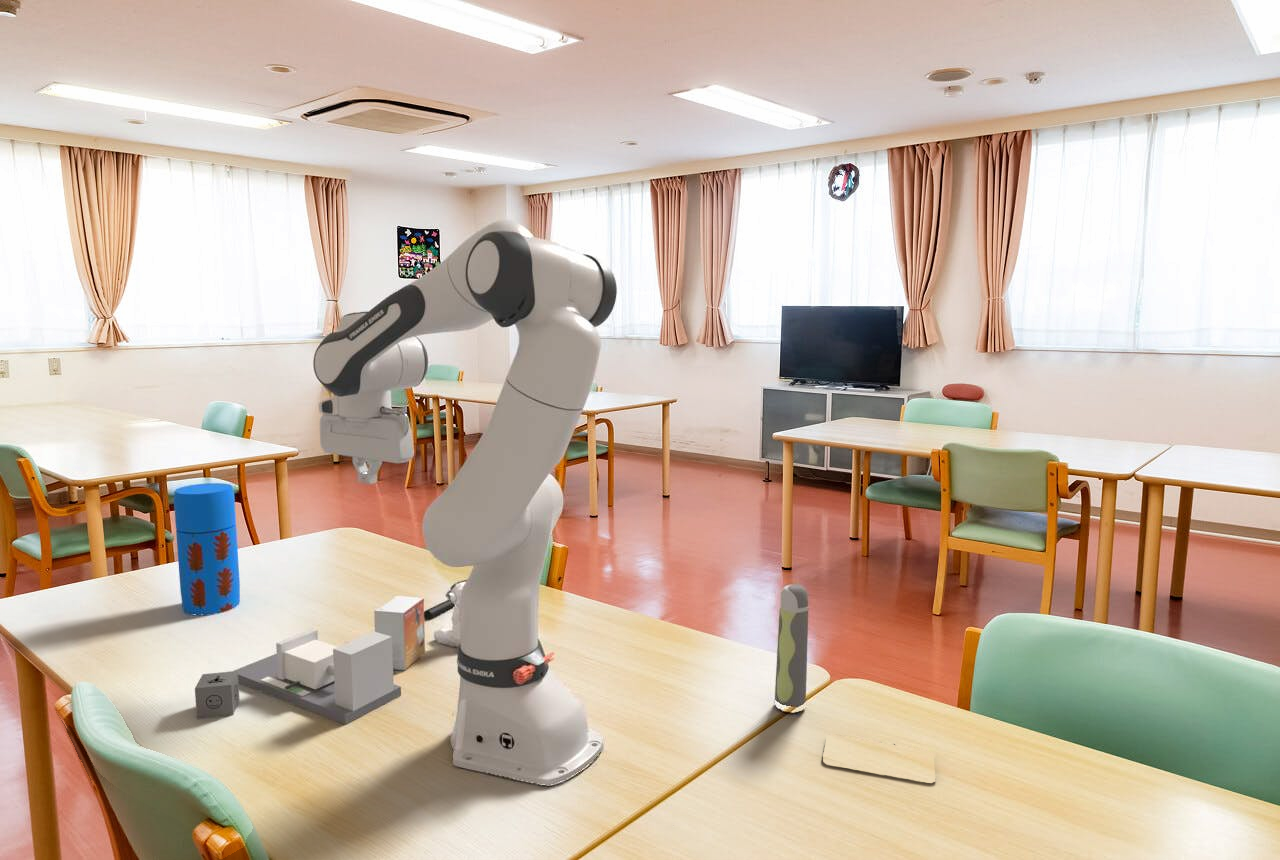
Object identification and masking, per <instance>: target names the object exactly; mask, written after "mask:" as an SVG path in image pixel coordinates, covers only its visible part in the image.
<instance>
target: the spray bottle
mask: <svg viewBox="0 0 1280 860" xmlns="http://www.w3.org/2000/svg"><path fill="white" fill-rule="evenodd" d="M778 615H779V617H778V632H777V634H778V635H777V649H776V651H777V652H776V665H775V666H776V670H775V686H774V687H775V688H774V701H775V700H776V701H777V702H779V703H780V704H782V705H786V706H791V707H799V706H801V705H803V704H804V703H805V702H806V703H807V701H806V700H807V678H808V677H807V675H808V674H807V673H808V672H807V671H808V637H809V634H808V633H809V632H808V631H809V596H808V591H807V589H806V587H804V586H803V585H801V584H797V583H795V584H794V583H793V584H788V585H786V586H784V587H783V588H782V589H781V592H780V607H779V613H778Z"/></svg>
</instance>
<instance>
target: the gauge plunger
mask: <svg viewBox="0 0 1280 860" xmlns="http://www.w3.org/2000/svg"><path fill="white" fill-rule="evenodd" d="M318 634H319V632H318V629H316V628H311V629H308V630H305V631H304V632H301V633H298V634H295V635H292V636H291V637H288V638H285V639H283V640H280V641H277V642H276V643H275V645H276V646H275V647H276V648H275V649H276V654H277V668H278V678H280V679H285V678H286V679H288V680H291V681H294V682H295V683H292V684H290V685H288V686H286V687H285V689H289V688H291V687H293V686H296V685H298V684H302V685H305V686H307V687H310V688H313V689H318V688H320V687H322V686H324V685H326V684H329V683H331V682H333V681H334V660H333V649H334V648H336V647H338V646H336V645H332V644H330V643H327V642H324V641H322V640H319V635H318Z"/></svg>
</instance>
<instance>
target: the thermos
mask: <svg viewBox="0 0 1280 860" xmlns="http://www.w3.org/2000/svg"><path fill="white" fill-rule="evenodd" d="M233 487H234V486H233V485H232V484H229V483H221V482H211V483H196V484H190V485H189V484H188V485H186V486H181V487H178V488H176V489H175V490H174V492H173V506H174V507H173V509H174V519H175V534H176V535H175V536H176V547H177V548H176V549H177V560H178V562H177V563H178V573H179V576H178V578H179V588H180V596H181V597H180V599H181V604H182V611H183V610H184V611H183V613H184V612H185V613H184V614H187V613H188V614H187V615H189V614H196V615H195V616H208V615H207V614H211V615H215V614H214V613H218V614H221V613H220V612H222V613H225V612H224V611H226V612H228V611H231V610H233V609H235V608H237V607H238V606H239V605H240V603H239V602H241V601H240V600H241V597H240V596H241V589H240V588H241V587H240V586H241V584H240V568H239V566H240V565H239V550H238V549H239V548H238V535H237V533H238V532H237V517H236V503H235V502H236V501H235V492H234V488H233ZM237 605H238V606H237ZM236 606H237V607H236ZM234 607H235V608H234ZM232 608H233V609H232ZM230 609H231V610H230ZM227 610H228V611H227ZM201 614H203V615H201Z"/></svg>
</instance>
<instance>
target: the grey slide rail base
mask: <svg viewBox="0 0 1280 860" xmlns="http://www.w3.org/2000/svg"><path fill="white" fill-rule="evenodd" d="M333 660H334V681H333V682H331V683H329V684H326V685H324V686H322V687H320V688H318V689H313V688H310V687H307V686H305V685H302V684H298V685H296V686H293V687H291V688H289V689H285V687H286V686H288V685H290V684H292V683H295V682H294V681H291V680H288V679H286V678H285V679H280V678H278V668H277V653H274V654H272V655H270V656H267V657H264V658H262V659H260V660H257V661H254V662H252V663H250V664H247V665H245V666H242V667H238V668H237V669H234V670H233V671H238V684H239V685H240V684H241V685H243V686H246V687H248V688H250V689H253V690H255V691H259V692H260V693H264V694H266V695H269V696H271V697H274V698H277V699H278V700H281V701H285V702H286V703H289V704H291V705H295V706H296V707H299V708H302V709H305V710H307V711H310V712H312V713H315V714H317V715H320V716H322V717H324V718H328V719H330V720H332V721H335V722H338V723H340V724H343V725H348V724H349V723H351V722H354V721H355V720H358V719H360V718H362V716H365V715H368V713H370V712H373V711H374V710H377V709H378V708H381V707H382V706H384V705H386V704H388V703H389V702H392V701H394V700H395V699H397V698H399V697H401V696H402V687H401V686H400V685H397V684H395V683H394V669H393V653H392V637H391V636H388V635H384V634H381V633H378V632H375V631H372V632H370V633H368V634H365V635H362V636H360V637H358V638H355V639H353V640H351V641H348V642H346V643H344V644H342V645H338V646H337V647H336V648H334V649H333Z"/></svg>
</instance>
